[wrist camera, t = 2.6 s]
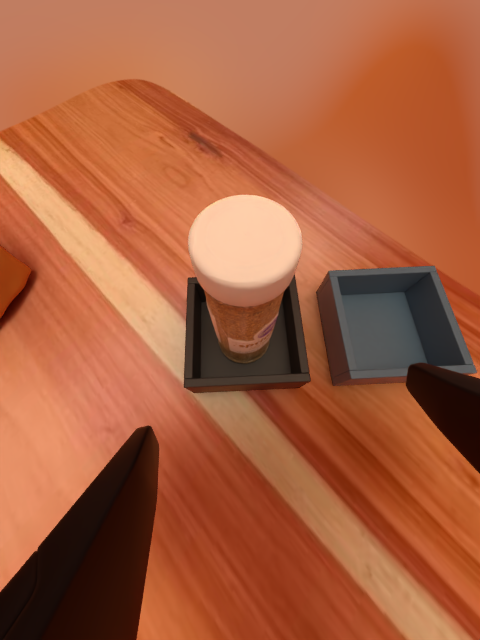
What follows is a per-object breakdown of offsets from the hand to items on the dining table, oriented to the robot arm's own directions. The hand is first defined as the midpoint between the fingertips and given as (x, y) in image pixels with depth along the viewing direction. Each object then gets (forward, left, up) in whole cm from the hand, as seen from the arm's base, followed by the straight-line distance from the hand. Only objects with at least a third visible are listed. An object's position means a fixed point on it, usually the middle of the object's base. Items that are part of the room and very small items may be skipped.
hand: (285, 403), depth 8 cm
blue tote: (+12, -1, -12) cm, 17 cm away
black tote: (+3, +6, -12) cm, 14 cm away
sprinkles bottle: (+3, +6, -12) cm, 14 cm away
